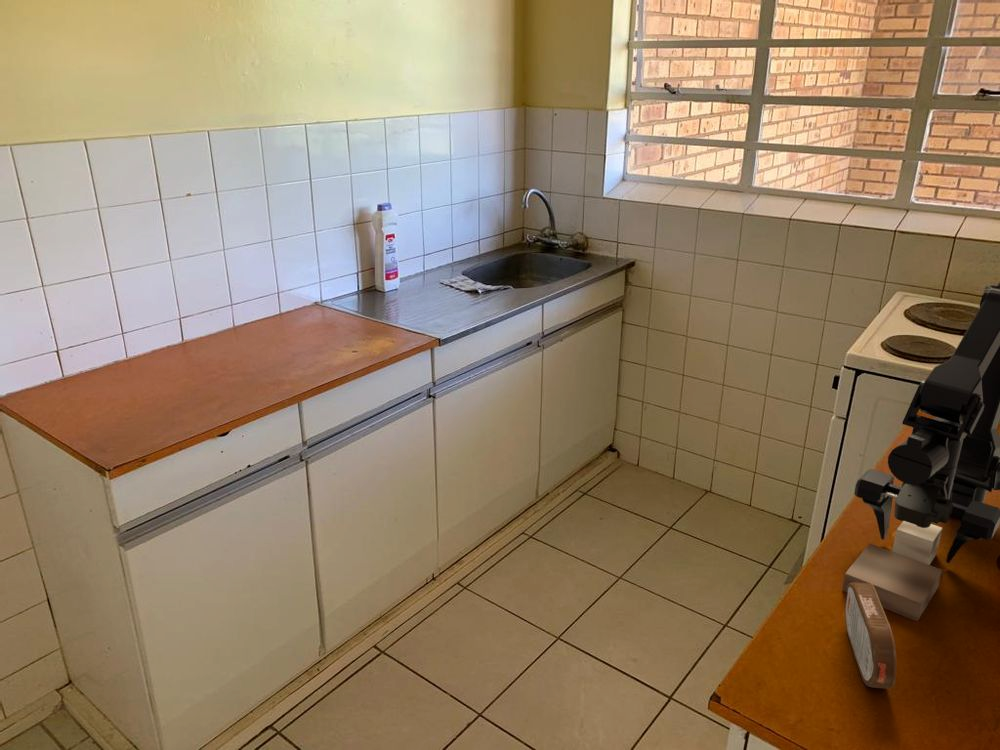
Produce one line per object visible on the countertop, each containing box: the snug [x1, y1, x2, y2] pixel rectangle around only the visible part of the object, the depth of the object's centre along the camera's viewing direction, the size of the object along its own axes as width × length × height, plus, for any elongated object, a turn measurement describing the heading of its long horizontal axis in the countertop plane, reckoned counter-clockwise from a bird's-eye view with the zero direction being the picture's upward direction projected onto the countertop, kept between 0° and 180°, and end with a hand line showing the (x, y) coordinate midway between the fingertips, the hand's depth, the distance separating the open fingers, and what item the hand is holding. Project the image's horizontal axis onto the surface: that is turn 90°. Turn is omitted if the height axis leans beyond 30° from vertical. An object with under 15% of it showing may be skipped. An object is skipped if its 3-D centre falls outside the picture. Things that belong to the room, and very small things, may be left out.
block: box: [891, 521, 943, 566], centre depth 115 cm, size 5×5×5 cm
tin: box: [844, 582, 897, 690], centre depth 94 cm, size 15×3×8 cm, turn 168°
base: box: [841, 543, 943, 622], centre depth 108 cm, size 10×10×3 cm
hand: (915, 549), depth 116 cm, fingers open, 9 cm apart
